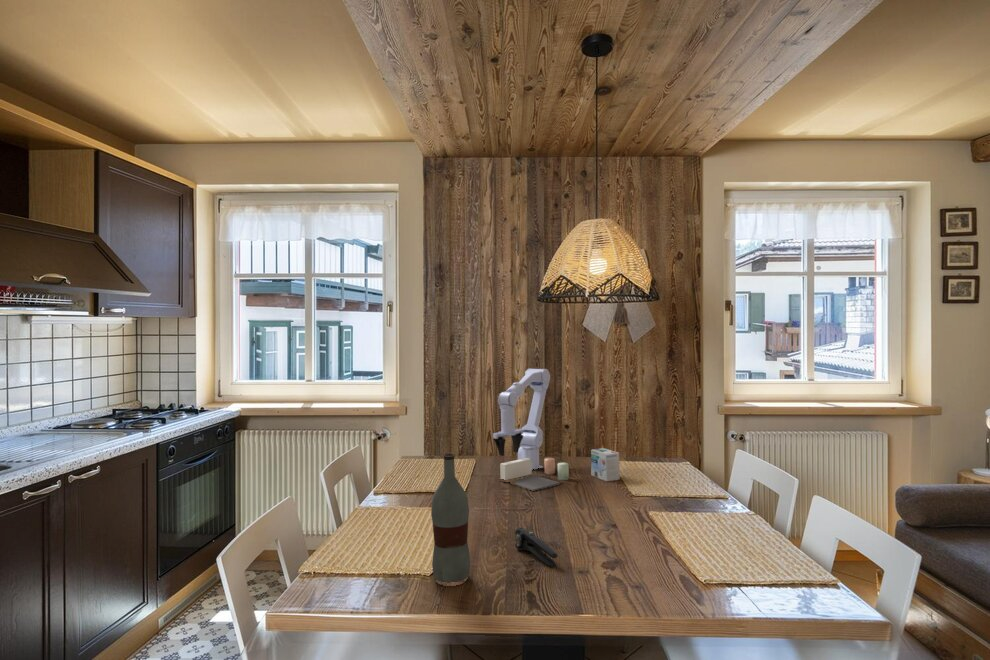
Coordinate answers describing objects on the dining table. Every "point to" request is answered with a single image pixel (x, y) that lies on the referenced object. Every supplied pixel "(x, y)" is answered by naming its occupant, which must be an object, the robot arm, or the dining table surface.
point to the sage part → (563, 471)
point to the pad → (536, 483)
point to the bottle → (450, 527)
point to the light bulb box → (605, 464)
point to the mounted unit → (515, 469)
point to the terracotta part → (549, 465)
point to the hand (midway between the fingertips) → (508, 453)
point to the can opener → (534, 546)
